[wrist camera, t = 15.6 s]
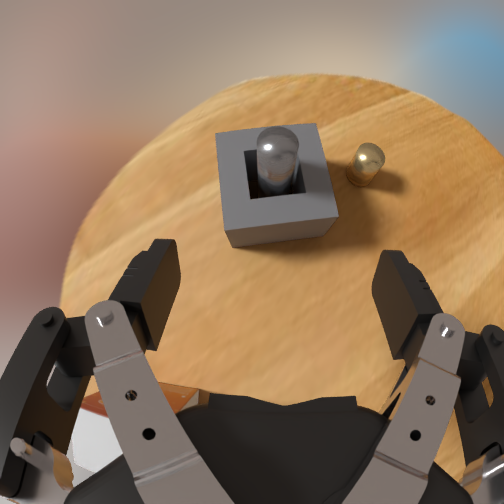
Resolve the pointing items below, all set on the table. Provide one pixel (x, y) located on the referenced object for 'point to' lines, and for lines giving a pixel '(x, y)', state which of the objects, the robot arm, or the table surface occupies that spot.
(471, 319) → the table surface
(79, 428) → the small box
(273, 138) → the grey metal rod
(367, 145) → the brass pin
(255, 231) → the collar block
